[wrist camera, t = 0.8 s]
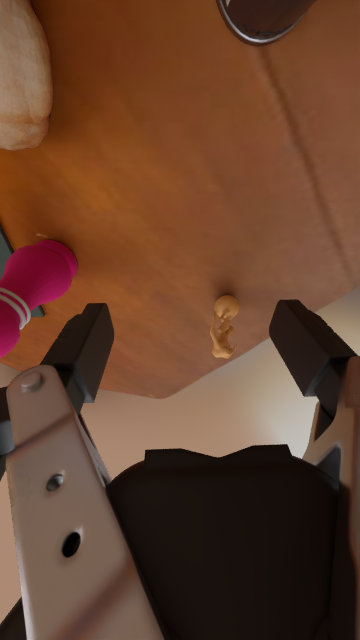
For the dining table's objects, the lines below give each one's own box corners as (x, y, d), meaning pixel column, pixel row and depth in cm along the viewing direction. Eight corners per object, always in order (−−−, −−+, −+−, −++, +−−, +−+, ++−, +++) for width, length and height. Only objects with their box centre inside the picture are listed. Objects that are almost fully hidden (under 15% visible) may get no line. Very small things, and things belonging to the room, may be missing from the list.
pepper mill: (80, 287, 34) (2, 400, 18) (32, 275, 32) (-101, 388, 16) (82, 244, 29) (-20, 343, 14) (26, 228, 28) (-160, 319, 12)
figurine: (242, 312, 38) (265, 363, 29) (212, 325, 40) (225, 377, 30) (226, 276, 33) (247, 323, 24) (193, 293, 35) (201, 342, 26)
